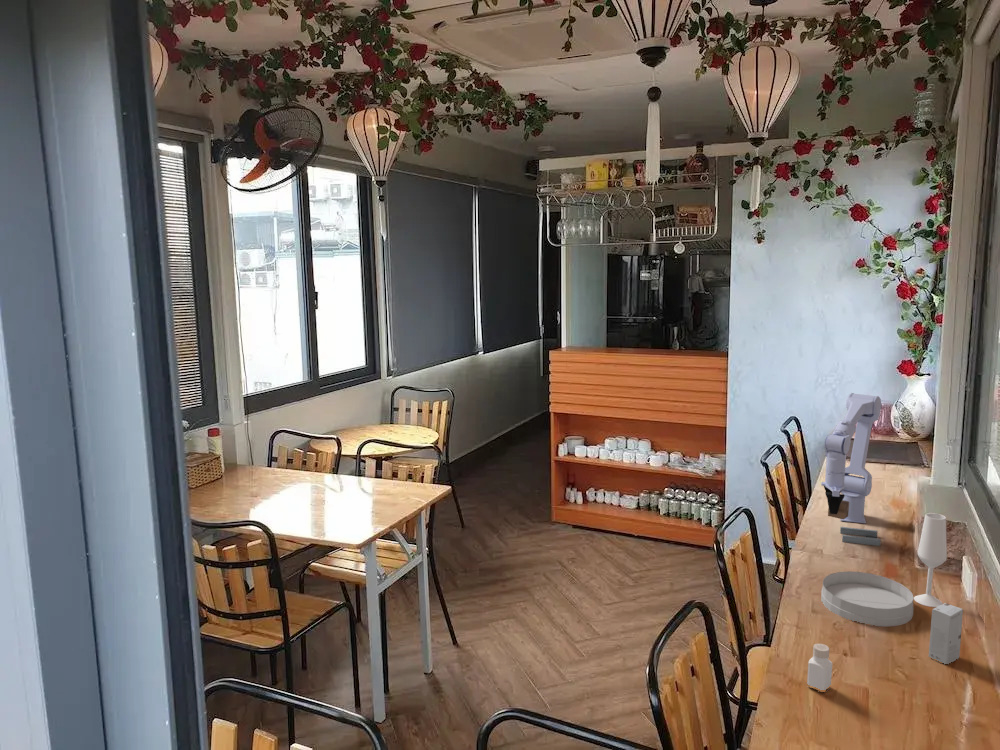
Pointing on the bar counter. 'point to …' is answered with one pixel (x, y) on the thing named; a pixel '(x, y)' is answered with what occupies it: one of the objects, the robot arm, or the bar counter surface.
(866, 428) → the robot arm
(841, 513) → the walnut block
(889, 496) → the bar counter surface
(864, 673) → the bar counter surface
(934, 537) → the champagne flute
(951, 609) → the skincare box
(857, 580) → the dish
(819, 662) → the pepper shaker
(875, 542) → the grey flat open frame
